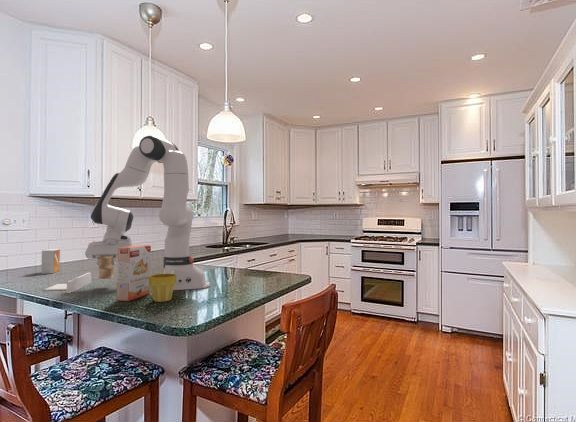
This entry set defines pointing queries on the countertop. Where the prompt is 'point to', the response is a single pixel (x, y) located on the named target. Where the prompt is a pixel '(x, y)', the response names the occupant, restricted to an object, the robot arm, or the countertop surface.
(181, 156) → the robot arm
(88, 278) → the low wall
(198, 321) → the countertop surface
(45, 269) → the small box
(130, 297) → the cracker box
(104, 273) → the maple block
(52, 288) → the pad
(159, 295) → the plant pot
